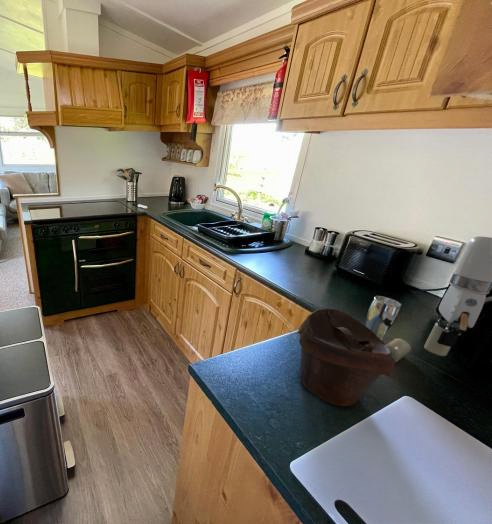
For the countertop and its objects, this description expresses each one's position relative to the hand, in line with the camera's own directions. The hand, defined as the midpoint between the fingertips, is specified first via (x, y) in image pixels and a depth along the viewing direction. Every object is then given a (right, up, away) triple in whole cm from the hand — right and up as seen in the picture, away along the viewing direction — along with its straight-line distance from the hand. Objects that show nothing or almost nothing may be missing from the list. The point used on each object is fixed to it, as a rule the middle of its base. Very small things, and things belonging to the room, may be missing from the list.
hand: (441, 339), depth 84 cm
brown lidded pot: (-40, -9, -11) cm, 42 cm away
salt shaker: (-9, -3, +4) cm, 10 cm away
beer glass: (-13, -4, +9) cm, 17 cm away
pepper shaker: (0, -4, +1) cm, 4 cm away
